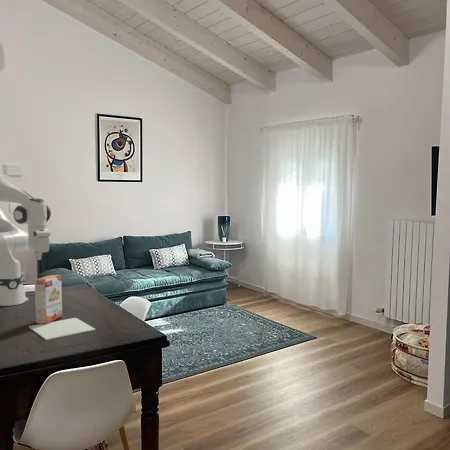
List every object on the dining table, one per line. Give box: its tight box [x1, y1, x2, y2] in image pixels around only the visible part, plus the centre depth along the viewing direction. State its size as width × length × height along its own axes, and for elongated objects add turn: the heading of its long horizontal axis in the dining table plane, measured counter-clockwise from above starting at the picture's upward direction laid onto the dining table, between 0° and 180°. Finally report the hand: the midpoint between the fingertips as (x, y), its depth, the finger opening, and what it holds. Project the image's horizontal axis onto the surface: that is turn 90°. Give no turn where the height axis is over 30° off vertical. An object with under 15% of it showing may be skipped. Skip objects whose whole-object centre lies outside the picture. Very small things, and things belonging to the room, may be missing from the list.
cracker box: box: [34, 274, 63, 325], centre depth 223 cm, size 14×6×21 cm, turn 169°
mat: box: [28, 317, 96, 341], centre depth 212 cm, size 22×22×1 cm
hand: (38, 259), depth 232 cm, fingers closed
